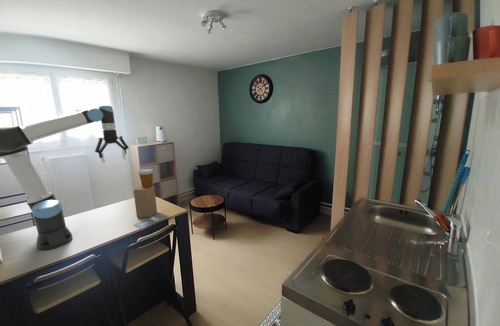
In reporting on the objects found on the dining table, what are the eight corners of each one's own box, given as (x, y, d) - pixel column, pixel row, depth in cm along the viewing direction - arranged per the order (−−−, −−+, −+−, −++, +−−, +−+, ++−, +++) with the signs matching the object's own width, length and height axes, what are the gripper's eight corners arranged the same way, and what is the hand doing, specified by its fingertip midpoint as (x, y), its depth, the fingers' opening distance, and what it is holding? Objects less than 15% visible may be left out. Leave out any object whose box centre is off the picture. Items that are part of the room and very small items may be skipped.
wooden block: (150, 217, 150) (147, 189, 146) (136, 217, 150) (133, 189, 146) (157, 211, 160) (154, 185, 156) (143, 211, 160) (140, 185, 156)
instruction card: (141, 229, 136) (141, 228, 136) (133, 224, 141) (133, 224, 141) (167, 217, 150) (167, 217, 150) (158, 214, 156) (158, 213, 155)
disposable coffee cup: (155, 187, 150) (153, 170, 148) (139, 189, 146) (137, 172, 144) (154, 184, 159) (153, 168, 157) (140, 186, 155) (138, 169, 153)
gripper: (90, 131, 134) (96, 164, 139) (131, 128, 154) (135, 158, 159) (85, 130, 138) (91, 163, 143) (125, 128, 158) (129, 157, 163)
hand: (114, 160), depth 151 cm, fingers open, 13 cm apart
